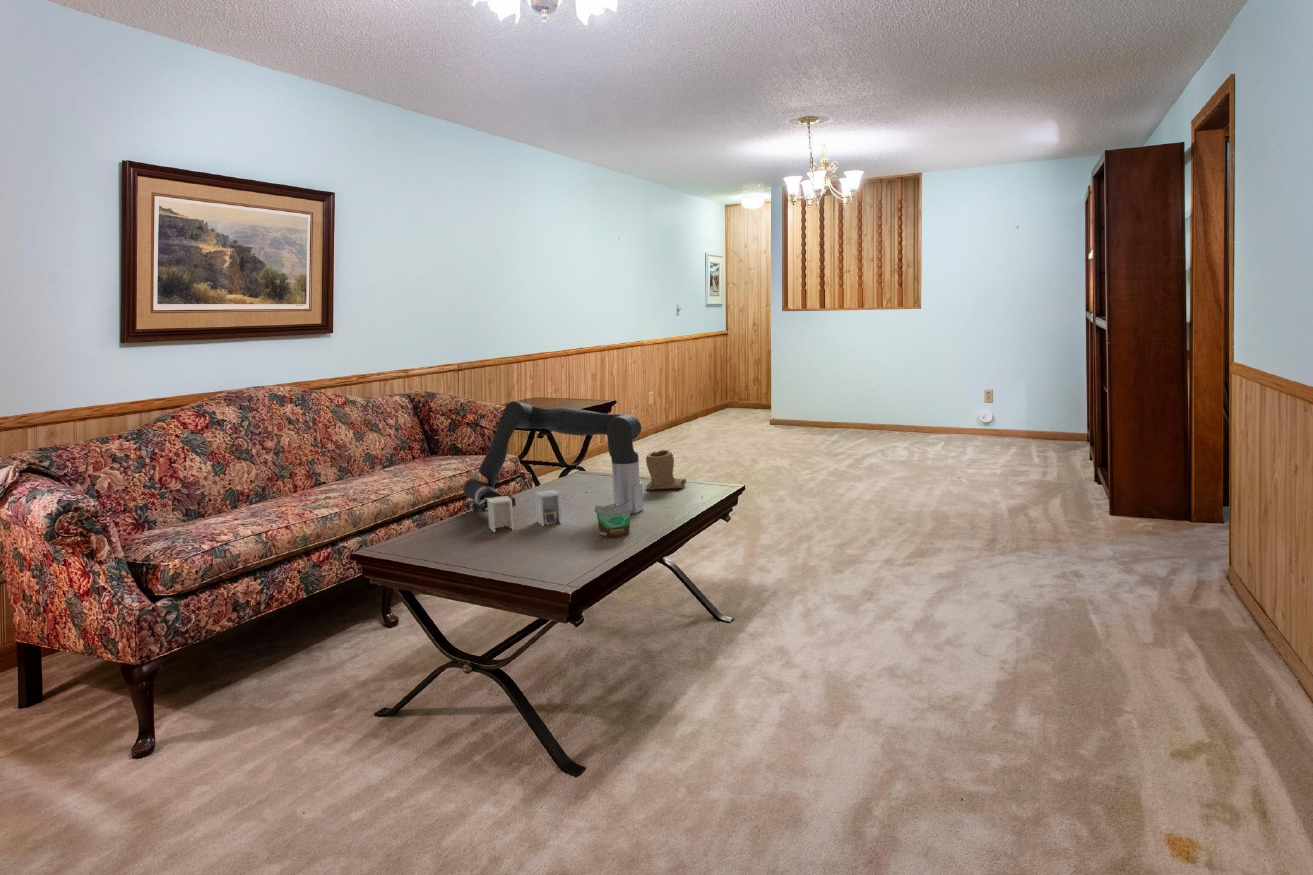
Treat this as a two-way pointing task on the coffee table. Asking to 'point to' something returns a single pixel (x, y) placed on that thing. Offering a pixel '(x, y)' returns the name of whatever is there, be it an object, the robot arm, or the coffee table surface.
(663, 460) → the brown boot-shaped piece
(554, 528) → the coffee table surface
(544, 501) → the cover
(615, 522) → the food container
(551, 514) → the letter cube
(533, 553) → the coffee table surface
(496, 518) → the cover
